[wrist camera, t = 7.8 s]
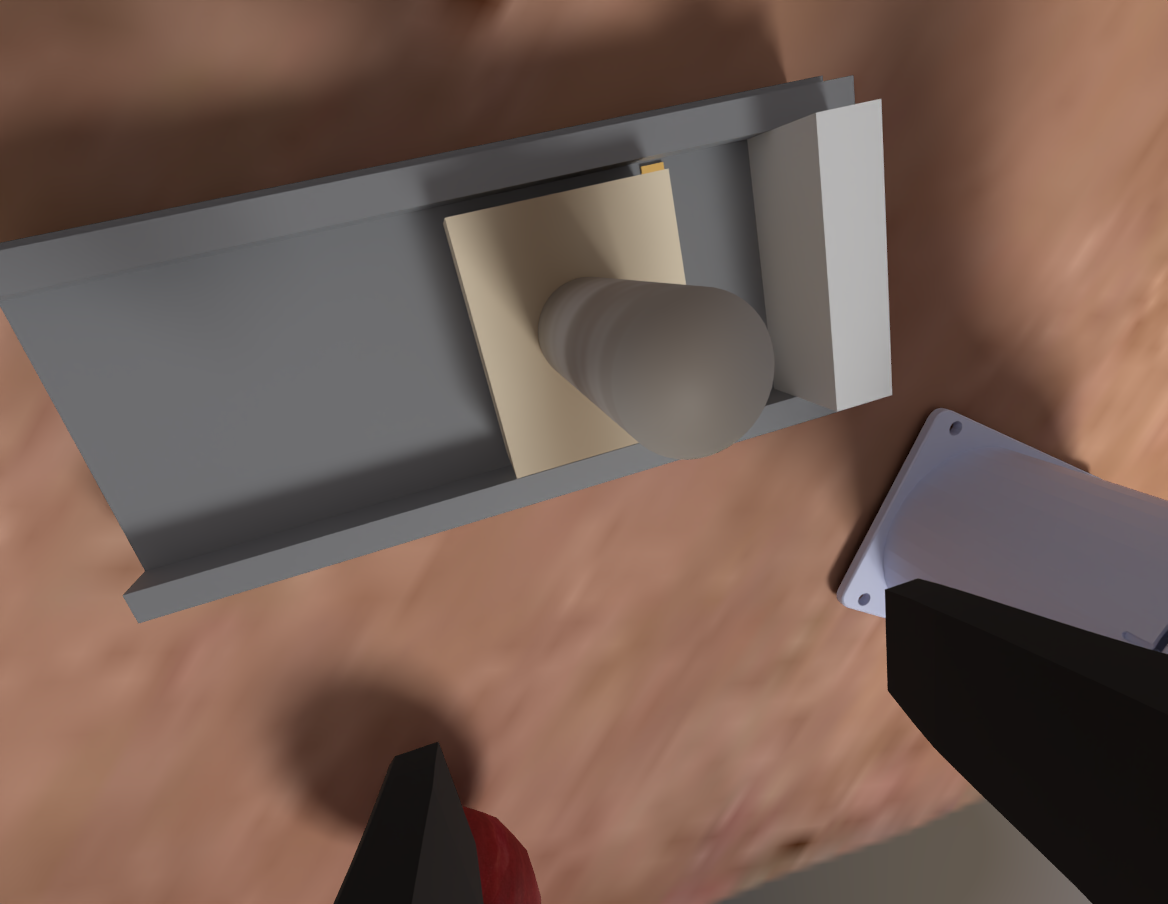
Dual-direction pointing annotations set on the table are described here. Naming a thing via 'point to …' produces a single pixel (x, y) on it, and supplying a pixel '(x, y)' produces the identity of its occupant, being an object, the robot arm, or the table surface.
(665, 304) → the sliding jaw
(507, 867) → the onion
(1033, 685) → the robot arm
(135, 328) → the rail base
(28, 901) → the table surface
